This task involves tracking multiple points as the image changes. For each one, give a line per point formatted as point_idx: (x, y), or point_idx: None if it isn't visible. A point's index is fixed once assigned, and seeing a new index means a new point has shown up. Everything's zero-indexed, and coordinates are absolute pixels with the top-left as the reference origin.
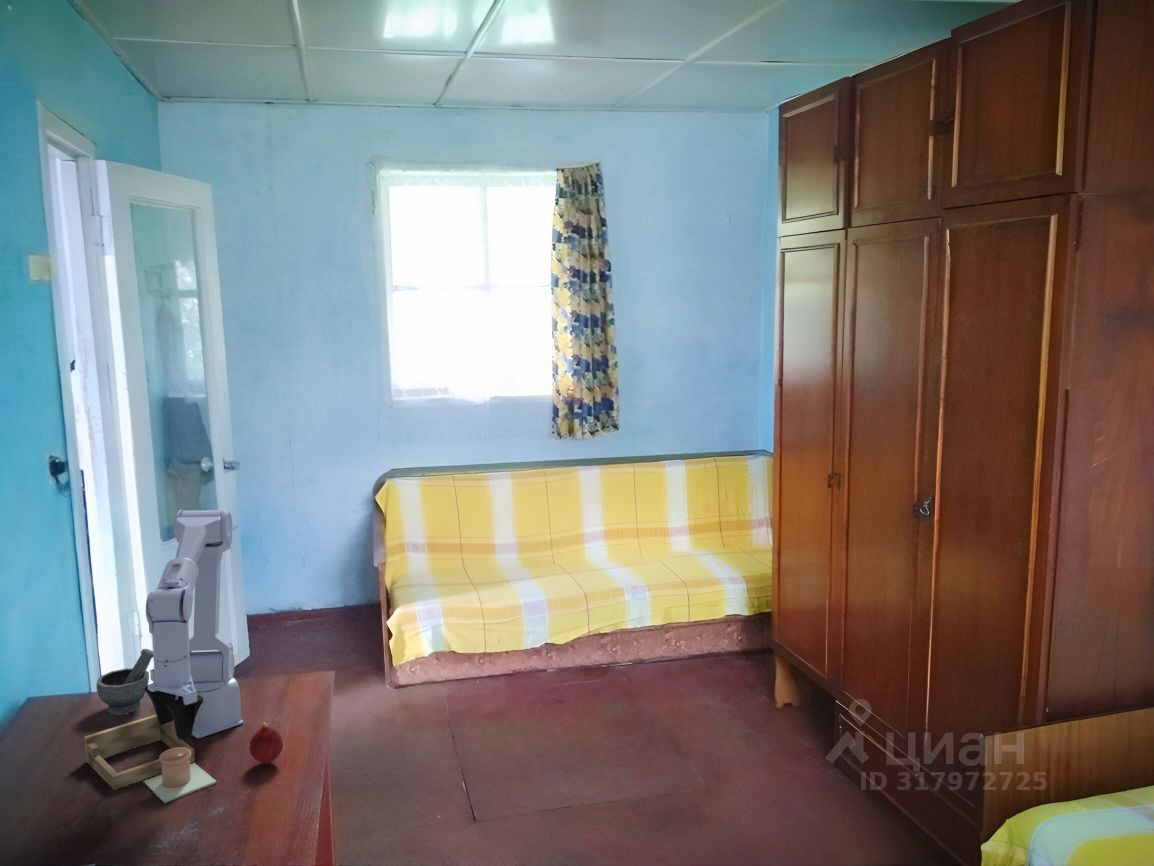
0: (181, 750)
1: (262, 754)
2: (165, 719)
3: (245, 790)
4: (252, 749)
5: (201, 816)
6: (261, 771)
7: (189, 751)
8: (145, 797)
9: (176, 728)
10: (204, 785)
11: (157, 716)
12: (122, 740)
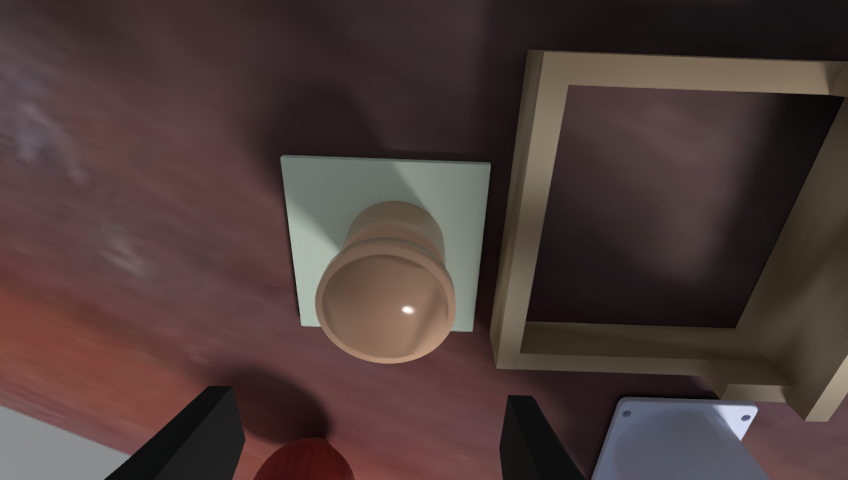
0: (403, 339)
1: (259, 471)
2: (511, 443)
3: (204, 352)
4: (288, 472)
5: (111, 203)
6: (287, 417)
7: (368, 355)
8: (377, 121)
9: (139, 455)
10: (298, 291)
11: (544, 441)
12: (839, 230)
